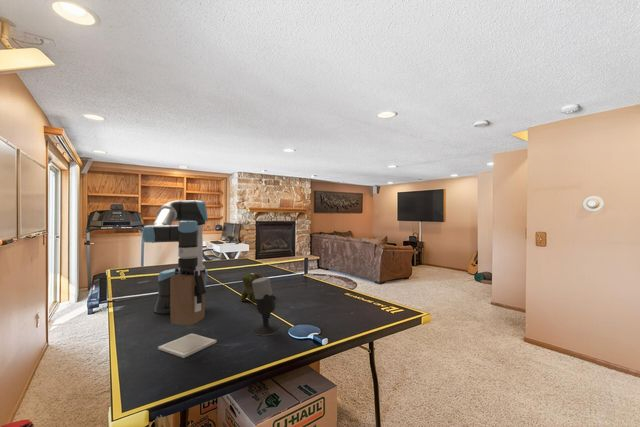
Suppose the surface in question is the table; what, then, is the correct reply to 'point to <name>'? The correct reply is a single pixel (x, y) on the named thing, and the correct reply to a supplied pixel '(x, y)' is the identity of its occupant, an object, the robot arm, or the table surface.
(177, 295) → the wooden block
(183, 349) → the tile
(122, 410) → the table surface
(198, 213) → the robot arm
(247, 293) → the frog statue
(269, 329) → the microphone
